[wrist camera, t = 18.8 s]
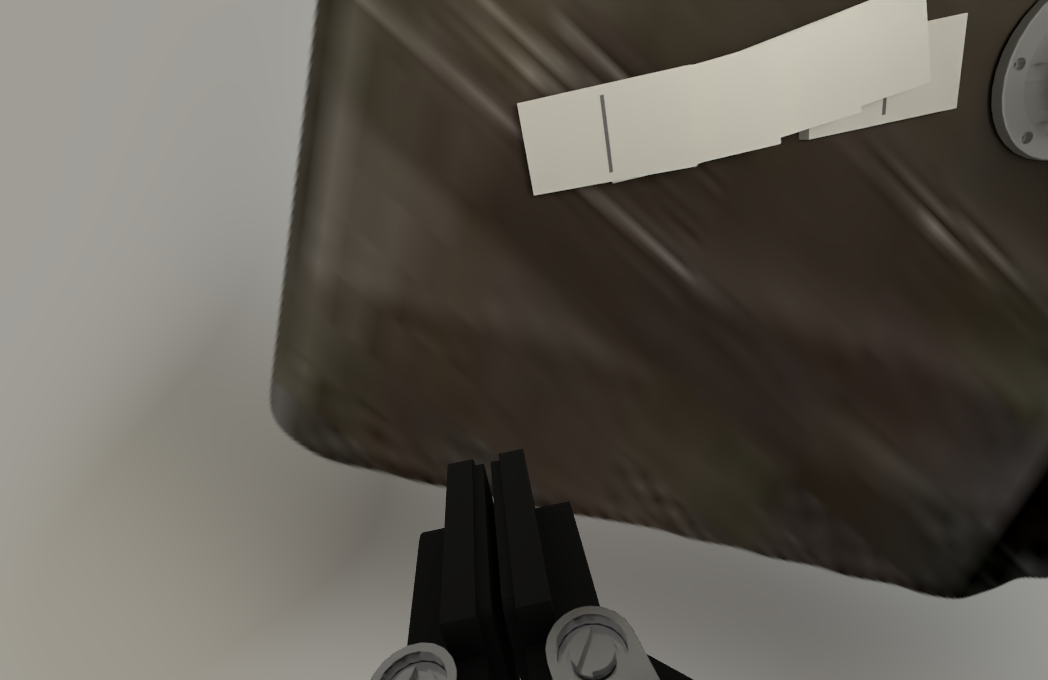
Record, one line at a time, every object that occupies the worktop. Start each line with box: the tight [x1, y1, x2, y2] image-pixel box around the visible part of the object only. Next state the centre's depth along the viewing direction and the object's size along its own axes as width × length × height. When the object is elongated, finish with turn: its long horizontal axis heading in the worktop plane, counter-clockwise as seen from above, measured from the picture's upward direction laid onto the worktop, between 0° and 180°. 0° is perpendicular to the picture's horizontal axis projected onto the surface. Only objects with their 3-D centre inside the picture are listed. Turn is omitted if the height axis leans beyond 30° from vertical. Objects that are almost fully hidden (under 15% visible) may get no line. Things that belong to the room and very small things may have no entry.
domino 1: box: [517, 64, 697, 195], centre depth 34 cm, size 1×6×11 cm
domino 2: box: [612, 41, 781, 183], centre depth 34 cm, size 1×6×11 cm
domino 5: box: [799, 13, 968, 140], centre depth 36 cm, size 1×6×11 cm
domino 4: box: [754, 0, 931, 106], centre depth 34 cm, size 1×6×11 cm
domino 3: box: [697, 9, 862, 164], centre depth 34 cm, size 1×6×11 cm
